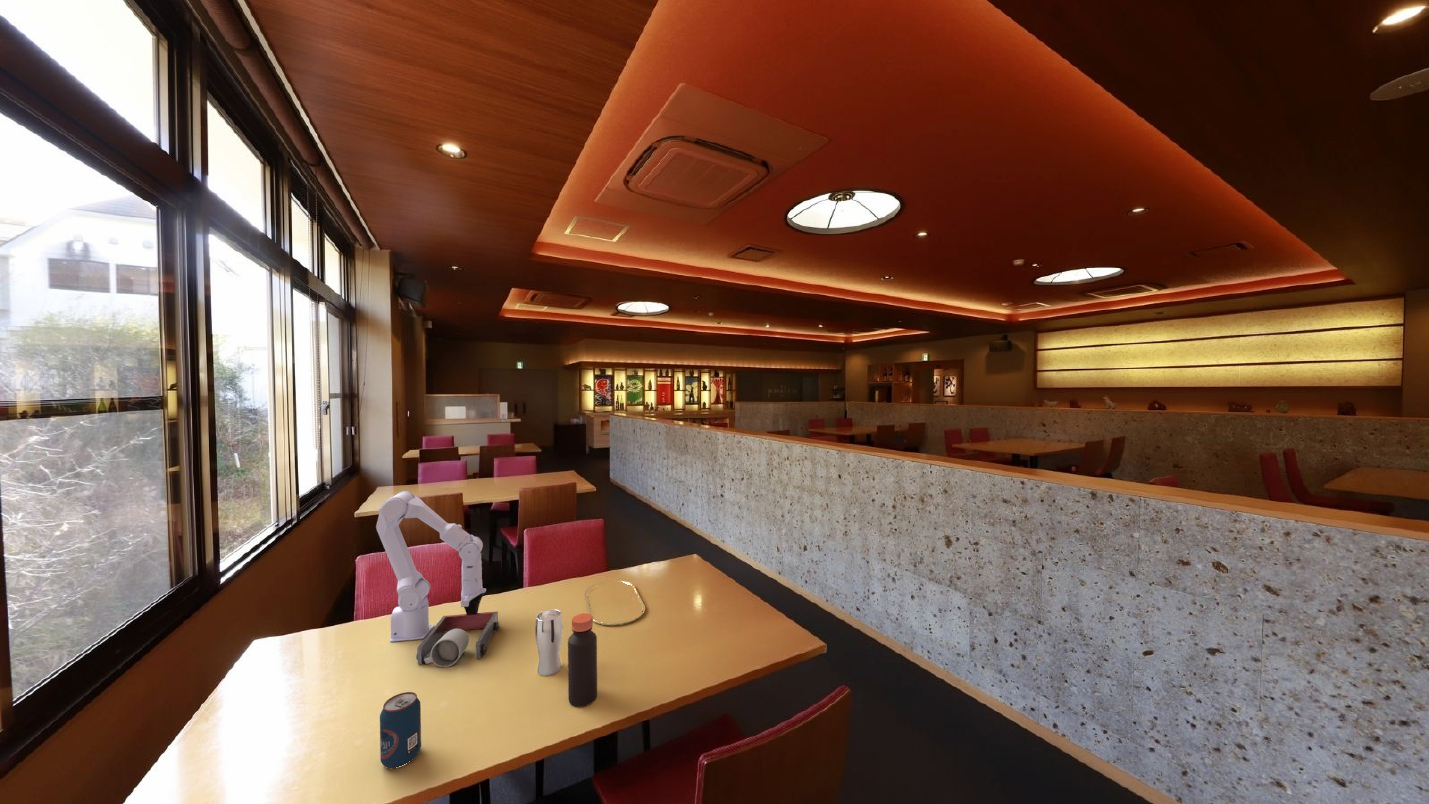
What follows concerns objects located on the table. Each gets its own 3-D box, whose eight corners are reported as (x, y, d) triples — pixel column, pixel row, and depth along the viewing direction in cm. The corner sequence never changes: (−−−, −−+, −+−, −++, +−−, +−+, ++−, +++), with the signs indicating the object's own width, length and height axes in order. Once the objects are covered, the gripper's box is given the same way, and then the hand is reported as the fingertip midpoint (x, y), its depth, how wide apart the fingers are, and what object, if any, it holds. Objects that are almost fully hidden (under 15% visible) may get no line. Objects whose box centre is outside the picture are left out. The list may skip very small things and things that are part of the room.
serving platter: (592, 633, 145) (592, 628, 145) (581, 588, 177) (581, 584, 177) (650, 622, 152) (650, 617, 152) (630, 581, 184) (630, 577, 184)
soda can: (372, 766, 93) (371, 707, 93) (406, 741, 99) (405, 686, 99) (396, 776, 90) (395, 716, 90) (429, 750, 97) (428, 694, 97)
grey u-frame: (414, 664, 127) (414, 648, 127) (440, 630, 145) (440, 616, 145) (483, 657, 130) (483, 641, 130) (500, 625, 148) (500, 611, 148)
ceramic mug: (471, 649, 135) (470, 623, 135) (460, 666, 127) (459, 638, 127) (431, 653, 133) (430, 627, 133) (418, 670, 125) (417, 642, 125)
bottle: (573, 689, 117) (573, 611, 116) (600, 689, 117) (599, 611, 116) (564, 707, 110) (563, 624, 110) (592, 708, 110) (591, 625, 109)
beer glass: (557, 677, 122) (557, 621, 121) (531, 677, 122) (530, 621, 121) (566, 661, 129) (566, 608, 128) (541, 661, 129) (541, 608, 128)
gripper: (478, 585, 141) (478, 629, 142) (491, 567, 155) (492, 607, 156) (453, 587, 140) (453, 631, 140) (468, 569, 154) (469, 609, 154)
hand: (472, 619), depth 148 cm, fingers closed
